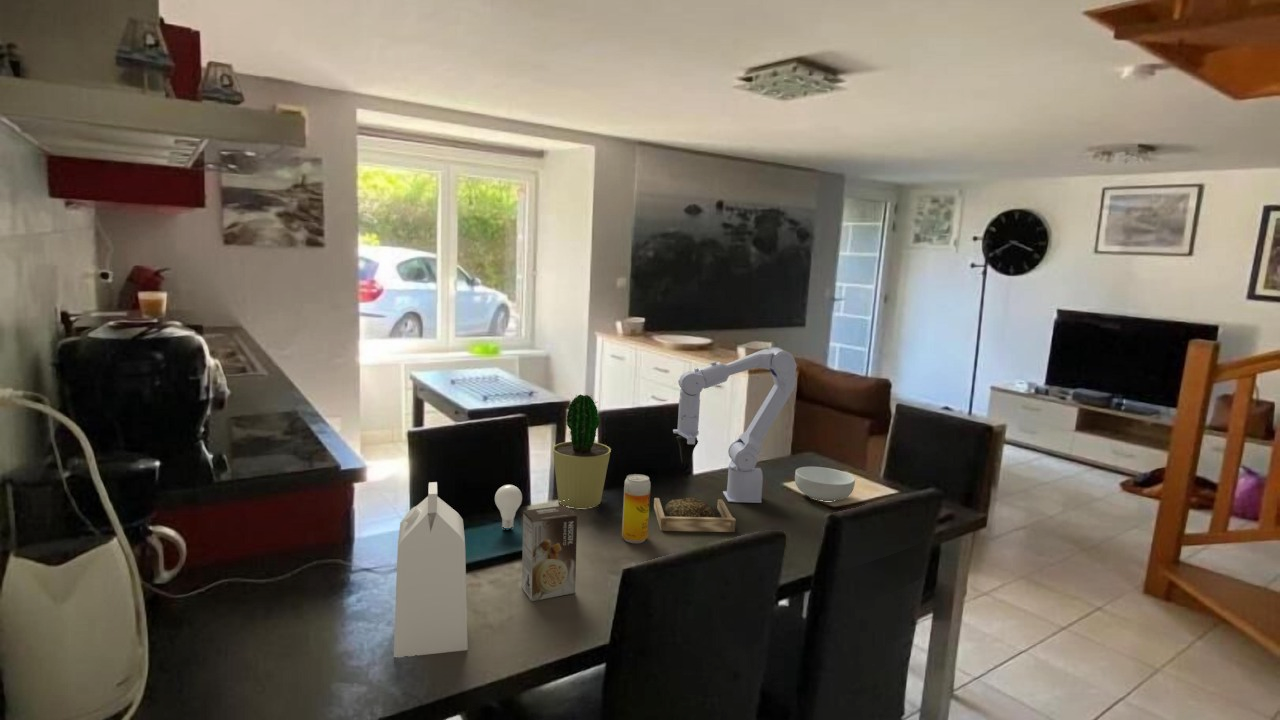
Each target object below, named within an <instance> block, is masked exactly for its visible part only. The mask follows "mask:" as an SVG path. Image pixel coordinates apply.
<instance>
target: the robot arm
mask: <svg viewBox="0 0 1280 720" xmlns="http://www.w3.org/2000/svg"><path fill="white" fill-rule="evenodd" d="M796 362H797V361H796V360H795V357H794V355H793V354H792V353H791V352H789V351H787V350H784V349H782V348H781V347H777V346H772V347H769V348H766V349H765V348H764V349H761V350H759V351H756V352H754V353H751V354H748V355H746V356H743V357H741V358H738V359H736V360H733V361H730V362H728V363H724V362H723V363H722V362H721V361H717V362H716V361H714V360H713V361H711V362H710V364H708V365H707V366H703V367H700V368H698V367H695V368H694V371H691V370H687V371H685V372H683V373H682V374H681V375H680V377H679V379H678V385H679V387H680V391H679V400H678V414H677V415H678V416H677V417H678V418H677V429H676V428H674V429H672V432H673V434H677V435H679V436H676V438H675V439H676V440H677V442H678V447H679V453H680V454H679V455H680V460H681V463H682V464H690V463H691V460H692V457H693V453H694V451H695V449H696V446H698V444H699V440H698V438H697V437H698V435H699V424H700V423H699V421H700V406H701V399H700V397H701V392H702V391H703V389H704V390H705V389H709V388H711V387H713V386H718V385H720V384H723V383H726V382H727V381H728V379H729V377H730V376H732V375H735V374H739V373H742V372H746V371H748V370H749V371H750V370H753V369H755V368H759V369H763V370H764V369H765V370H768V371H769V372H770V373H771V377H772V379H773V383H774V384H773V386H772V388H771V390H770V391H768V394H767V395H766V397H765V399H764V401H763V402H762V404H761V405H760V407H759V408H758V410H757V412H756V414H755V415H754V417H753V419H752V420H751V422H750V424H749V426H748V427H747V428H746V431H744V432H743V433H741V434H740V435H739V436H738V438H737V439H736V440H735V441H733V442H732V443H731V444H730V445H729V447H728V453H727V454H728V456H729V458H730V459H731V460H730V462H729V463H728V470H727V471H728V473H727V486H726V490H723V491H722V493H723V496H724V497H725V498H726V500H727V502H729V503H749V504H750V503H753V504H755V503H757V504H758V503H759V504H762V502H763V501H762V494H763V483H764V481H763V480H764V479H763V478H764V476H763V475H764V474H763V471H762V469H761V467H756V465H757V464H758V463H757V462H758V459H759V458H758V457H759V455H760V453H761V449H762V442H763V440H764V439H765V437H766V435H767V434H768V432H769V430H770V429H771V428H772V425H773V424H774V423H775V420H776V419H777V418H778V416H779V414H780V412H781V411H782V409H783V407H784V406H785V404H786V402H787V401H788V400H789V398H790V397H791V394H792V393H793V391H794V390H795V387H796V370H797V367H798V366H797V363H796Z"/></svg>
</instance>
